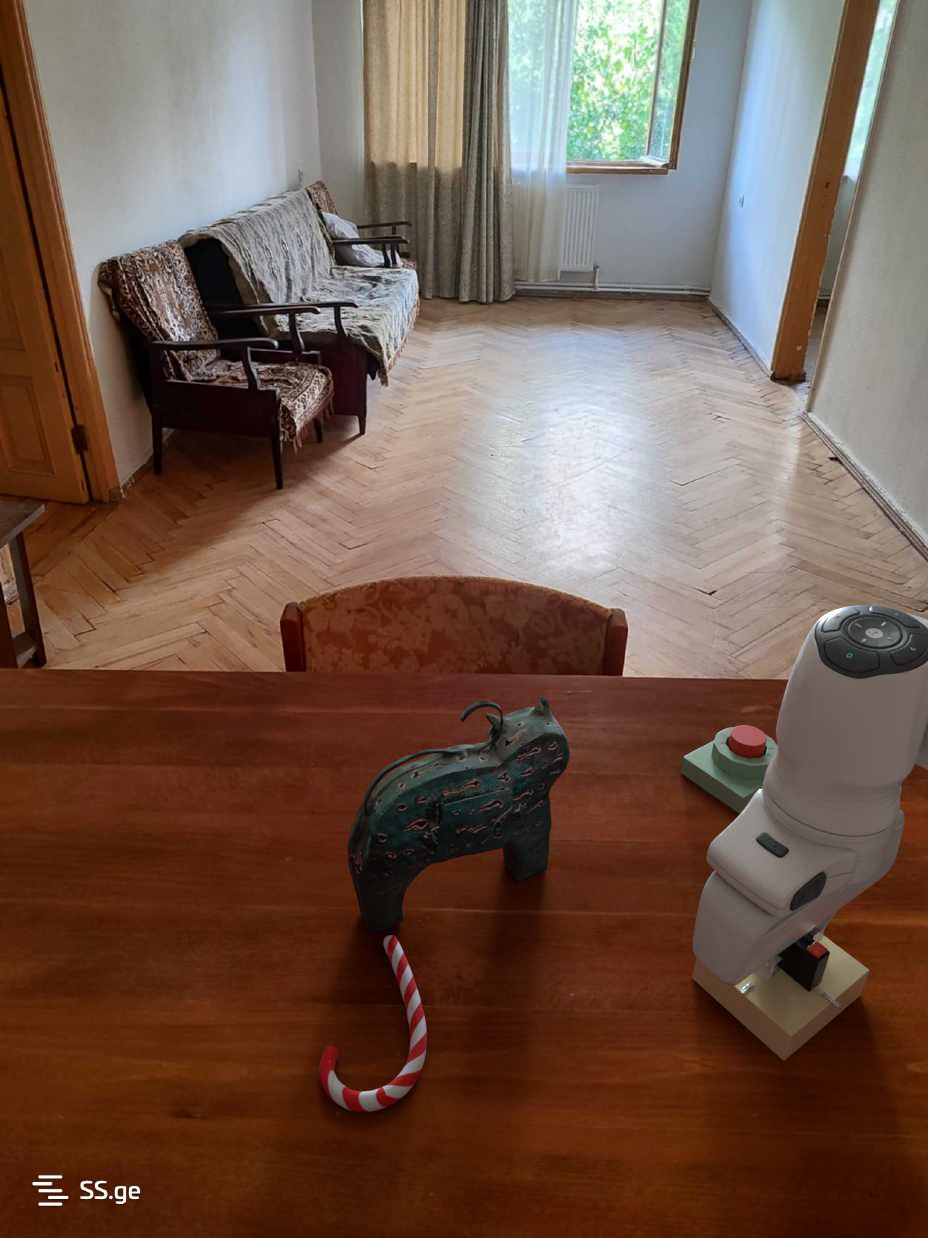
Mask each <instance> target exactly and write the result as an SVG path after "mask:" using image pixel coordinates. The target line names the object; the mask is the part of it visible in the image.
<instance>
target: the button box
mask: <svg viewBox="0 0 928 1238" xmlns="http://www.w3.org/2000/svg"><path fill="white" fill-rule="evenodd" d="M734 727H735V726H733V727H726V728H725V729H722V730H720V731H719V732H717V733H716V734H715V737H714V740H712V741H710V742H708V743H706V744H705V745H703V746H701V747H698V748H697V749H695V750H694V751H692V752H689V753H688V754H686V755H684V756H683V757H682V761H681V767H680V774H681V775H683V776H685V777H686V778H687V779H688V780H690V781H692V782H693V783H694V784H696V785H697V786H699V787H700V788H702V789H703V790H704V791H706V792H707V793H709V794H710V795H711V796H713V797H715V798H716V799H718V800H719V801H720V802H722V803H723V804H724V805H726V806H727V807H729V808H730V809H732V810H733V811H735V812H736V813H737V814H739V815H740V814H741V812H742V811H743V810H744V809H745V807H746V806H747V805H748V803H749V802H750V800H751V799H752V797H753V796H754V794H755V793H756V792H757V791H758V790H759V789H762V787H763V782H764V778H765V773H766V770H767V767H768V765H769V763H770V761H771V760H772V758H773V757H774V756H775V754H776V752H777V746H778V745H777V742H775V740H774V739H773V738H772V737H770V736H769V735H767V734H765V735H766V744H765V748H764V753H763V755H762V756H761V757H759V758H750V759H749V758H745V757H741V756H738V755H736V754H735V753H733V752H731V751H730V749H729V747H728V744H729V739H730V734H731V730H732V729H733V728H734Z"/></svg>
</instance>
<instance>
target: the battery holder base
mask: <svg viewBox="0 0 928 1238" xmlns="http://www.w3.org/2000/svg"><path fill="white" fill-rule="evenodd" d="M819 943H820V944H822V945H823V946H824V947H826V948H827V949H828V951H829V952H830V955H829V958H828V962H827V965H826V968H825V971H824V974H823V977H822V981H821V983H820V984H819V985H818V986H816V987H815V988H814V989H813V990H811V991H810V992H809V991H807V990H806V989H805V988H804V987H803V986H801V985H800V984H799V983H798V982H797V981H795V980H794V979H793V978H792V977H790V976H789V975H788V974H787V973H786V972H784V971H783V970H782V969H781V968H780V971H779V972H778V973H777V974H775V975H774V976H773V977H771V978H770V979H769V980H768V981H764V980H762V979H761V978H760V977H759V976H758V975H757V974H755V973H752V974H751V975H750V976H748V977H747V978H746V979H744V980H743V981H742V982H740V983H739V984H738V985H736V986H730V985H728V984H726V983H725V982H723V981H722V980H720V979H719V978H718V977H716V976H715V975H714V974H713V973H711V972H710V971H709V970H708V969H707V968H706V967H705V966H704V965H703V964H702V963H701V962H700V961H699V960H698V959H697V957H696V956H695V957H696V958H695V962H694V968H693V972H692V980H693V981H694V982H695V983H697V984H698V985H699V986H700V987H701V988H702V989H703V990H704V991H705V992H706V993H707V994H709V995H710V996H711V997H712V998H713V999H714V1000H715V1001H716V1002H717V1003H718V1004H719V1005H721V1006H722V1007H723V1008H724V1009H725V1010H727V1011H728V1013H729V1014H731V1015H732V1016H733V1017H734V1018H735V1019H736V1020H737V1021H739V1022H740V1023H741V1024H742V1025H743V1026H744V1027H745V1028H746V1029H747V1030H749V1031H750V1033H751V1034H753V1035H754V1036H755V1037H756V1038H757V1039H759V1041H761V1042H762V1043H763V1044H764V1045H765V1046H766V1047H767V1048H768V1049H770V1050H771V1051H772V1053H774V1054H775V1055H776V1056H777V1057H778V1058H779V1059H780V1060H782V1062H784V1061H786V1060H787V1059H789V1057H790V1056H792V1055H793V1054H794V1053H795V1052H796V1051H797V1050H799V1049H800V1048H801V1047H802V1046H804V1045H805V1044H806V1043H807V1042H808V1041H809V1040H811V1039H812V1038H813V1037H814V1036H815V1035H816V1034H818V1032H819V1031H821V1030H822V1029H823V1028H824V1027H825V1026H827V1025H828V1024H829V1023H830V1022H831V1021H832V1020H834V1019H835V1018H836V1017H837V1016H838V1015H840V1014H841V1013H842V1012H843V1011H844V1010H845V1009H847V1008H848V1007H849V1006H850V1005H851V1004H852V1003H854V1002H855V1000H857V999H858V998H859V997H860V996H862V993H863V990H864V987H865V985H866V982H867V979H868V977H869V973H870V969H869V968H867V966H865V965H864V964H862V963H861V962H859V961H858V959H856V958H855V957H853V956H852V955H850V954H849V953H847V952H846V951H845V950H844V949H842V948H841V947H840V946H838V945H837V944H835V943H834V942H833V941H832V940H830V938H828V937H827V936H825V935H824V934H823V936H822V939H821V941H819Z"/></svg>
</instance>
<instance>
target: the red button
mask: <svg viewBox="0 0 928 1238" xmlns="http://www.w3.org/2000/svg"><path fill="white" fill-rule="evenodd" d="M733 727H734V728H733ZM733 727H732V728H733V729H732V730H731V734H730V739H729V744H728V747H729V749H730V751H731V752H733V753H735V754H736V755H738V756H741V757H745V758H749V759H750V758H759V757H761V756H762V755H763V753H764V748H765V744H766V735H767V734H765V732H764V731H763V730H761V729H759V728H758V727H756V726H752V725H748V724H741V725H736V726H733Z"/></svg>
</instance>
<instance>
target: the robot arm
mask: <svg viewBox="0 0 928 1238" xmlns="http://www.w3.org/2000/svg"><path fill="white" fill-rule="evenodd" d="M776 721H777V722H776V726H775V737H776V745H778V746H777V752H776V754H775V756H774V757H773V758H772V760H771V761H770V763H769V765H768V767H767V770H766V773H765V778H764V782H763V787H762V789H759V790H758V791H757V792H756V793H755V794H754V796H753V797H752V799H751V800H750V802H749V803H748V805H747V806H746V807H745V809H744V810H743V811H742V812H741V814H739V815H738V816H737V817H736V818H734V820H732V822H731V823H730V824H729V825H728V826H726V828H725V829H724V830H723V831H721V832H720V833H719V834H718V835H717V836H716V837H715V838H714V839H713V840H712V841H711V843H710V844H709V846H708V849H707V853H706V858H705V859H706V863H707V864H708V865H709V867H710V868H712V869H713V870H714V871H712V873H711V874H710V875H709V877H708V879H707V880H706V882H705V884H704V887H703V889H702V892H701V895H700V898H699V903H698V908H697V910H696V911H697V912H696V917H695V922H694V928H693V936H692V953H693V954H694V956H695V957H697V959H698V960H699V961H700V962H701V963H702V964H703V965H704V966H705V967H706V968H707V969H708V970H709V971H710V972H711V973H713V974H714V975H715V976H716V977H718V978H719V979H720V980H722V981H723V982H725V983H726V984H728V985H730V986H736V985H738V984H739V983H740V982H742V981H743V980H744V979H746V978H747V977H748V976H750V975H751V974H752V973H755V974H757V975H758V976H759V977H760V978H761V979H762V980H764V981H768V980H769V979H770V978H771V977H773V976H774V975H775V974H777V973H778V972H779V971H780V966H781V965H782V961H783V958H781V957H780V956H779V955H778V954H779V953H781V952H782V951H783V950H785V949H786V948H788V947H789V946H790V945H792V944H793V943H794V942H796V941H797V940H798V939H800V938H801V937H802V936H804V935H805V934H807V935H808V936H810V937H811V938H812V939H814V940H815V941H818V942H819V941H821V939H822V936H823V935H824V933H825V929H826V928H827V927H828V925H829V924H830V922H831V921H832V920H833V918H834V917H835V915H836V913H838V911H839V910H840V909H841V908H843V907H845V906H846V905H847V904H849V903H850V902H852V901H853V900H854V899H855V898H857V897H858V896H859V895H861V894H862V893H864V892H865V891H867V889H869V888H871V886H873V885H875V883H877V882H878V881H880V880H882V879H883V878H884V877H885V876H886V875H887V874H888V873H889V871H890V870H891V868H892V867H893V865H894V864H895V861H896V859H897V856H898V851H899V848H900V844H901V842H902V841H901V839H902V836H903V832H904V826H905V818H906V817H905V813H904V811H903V810H902V809H901V808H900V807H901V795H902V792H903V787H902V784H903V782H904V781H906V779H907V777H908V776H909V775H910V774H911V772H912V771H913V769H914V767H915V765H916V766H918V767H920V768H922V769H924V770H926V771H928V619H926V618H923V617H920V616H918V615H914V614H911V613H907V612H903V611H900V610H898V609H895V608H891V607H887V606H880V605H872V604H858V605H850V606H844V607H841V608H837V609H834V610H831V611H829V612H828V613H826V614H824V615H823V616H821V617H819V618H818V620H817V621H816V622H815V623H813V626H812V628H811V629H810V631H809V632H808V634H807V636H806V638H805V640H804V642H803V643H802V646H801V648H800V650H799V652H798V655H797V657H796V659H795V661H794V665H793V667H792V670H791V672H790V675H789V678H788V681H787V684H786V687H785V690H784V693H783V698H782V701H781V705H780V709H779V713H778V716H777V720H776Z"/></svg>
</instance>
